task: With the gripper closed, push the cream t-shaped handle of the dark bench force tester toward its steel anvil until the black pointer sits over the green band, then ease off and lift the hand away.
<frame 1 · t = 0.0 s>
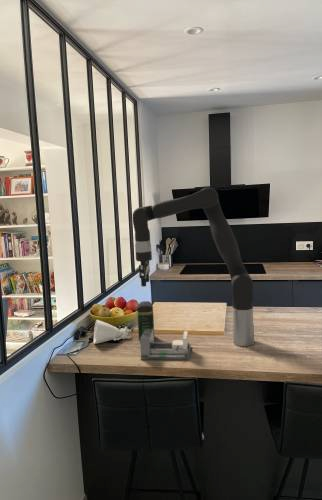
hand: (145, 284, 177), 29 cm above the countertop, tool pointing down, fingers open, 8 cm apart
coffee jar: (146, 339, 187), on the countertop
funnel: (112, 341, 186), on the countertop
cream t-shaped handle: (179, 343, 166), point 5 cm above the countertop, slide at 0.0 cm
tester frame: (166, 353, 168), on the countertop
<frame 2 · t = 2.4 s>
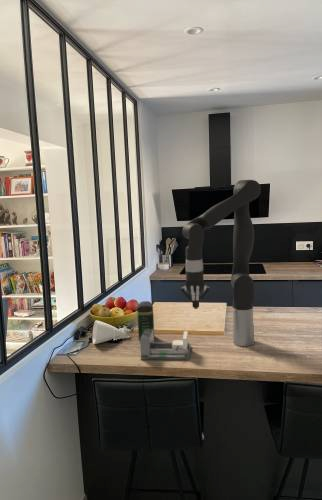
hand: (195, 308, 163), 21 cm above the countertop, tool pointing down, fingers closed
nothing on the countertop moved.
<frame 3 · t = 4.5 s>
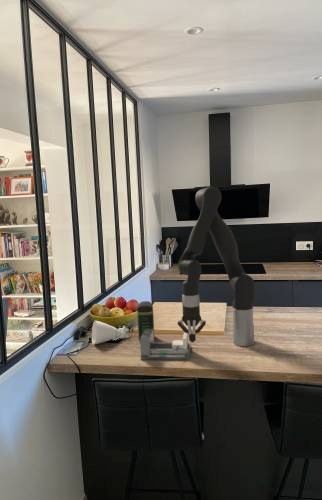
hand: (192, 341, 166), 6 cm above the countertop, tool pointing down, fingers closed
cream t-shaped handle: (179, 343, 166), point 5 cm above the countertop, slide at 0.0 cm, touching gripper
everything else where it was.
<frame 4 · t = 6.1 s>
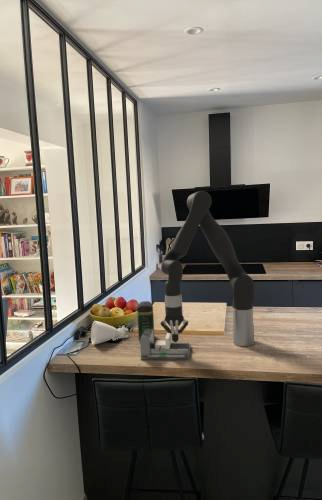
hand: (175, 341, 167), 6 cm above the countertop, tool pointing down, fingers closed
cream t-shaped handle: (162, 343, 167), point 5 cm above the countertop, slide at 7.7 cm, touching gripper
everything else where it was.
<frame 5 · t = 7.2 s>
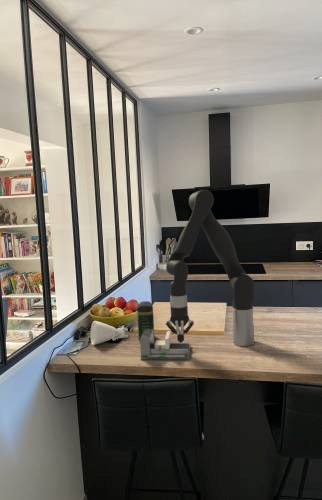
hand: (180, 341, 167), 5 cm above the countertop, tool pointing down, fingers closed
cream t-shaped handle: (162, 343, 167), point 5 cm above the countertop, slide at 7.8 cm
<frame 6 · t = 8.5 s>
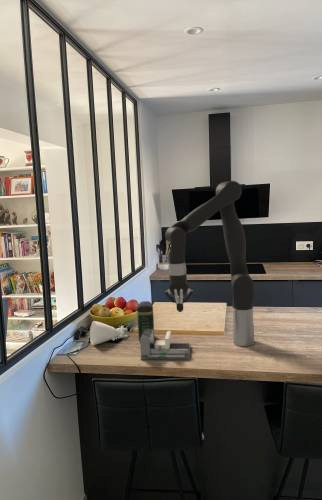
hand: (180, 311, 164), 20 cm above the countertop, tool pointing down, fingers closed
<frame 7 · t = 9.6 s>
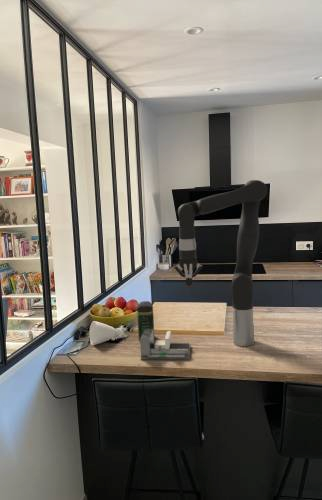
hand: (189, 285, 170), 29 cm above the countertop, tool pointing down, fingers closed
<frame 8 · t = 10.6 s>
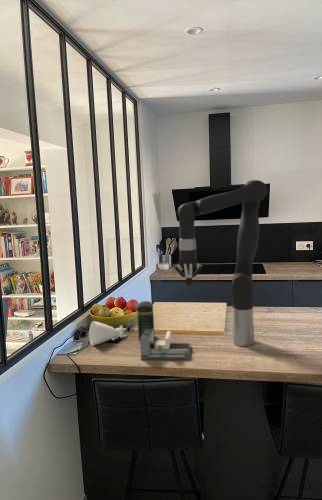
hand: (189, 285, 170), 29 cm above the countertop, tool pointing down, fingers closed
at the end: cream t-shaped handle slide at 7.8 cm; coffee jar moved 0.2 cm from its start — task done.
